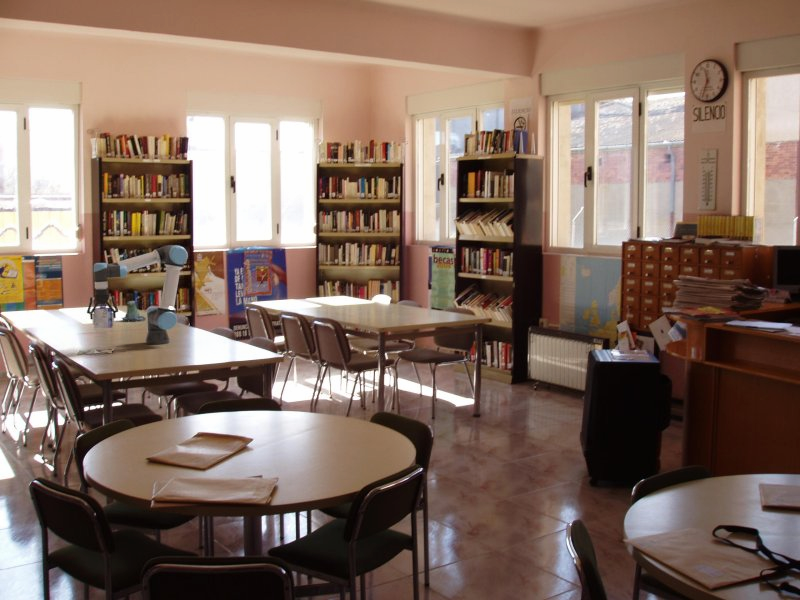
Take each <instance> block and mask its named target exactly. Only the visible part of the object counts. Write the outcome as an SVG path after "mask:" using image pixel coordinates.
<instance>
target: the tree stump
mask: <svg viewBox="0 0 800 600" xmlns="http://www.w3.org/2000/svg"><path fill="white" fill-rule="evenodd" d="M126 305H127V306H126V314H125V316H124V317H121V319H122V320H123V321H125V322H131V323H132V322H144V321H147V318H146V317H147V316H145V317H144V316H143V315H142V314H141V313H140V312H139V311H138V309H137V306H136V301H135V300H130V301H127V303H126Z"/></svg>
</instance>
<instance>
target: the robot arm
mask: <svg viewBox="0 0 800 600" xmlns="http://www.w3.org/2000/svg"><path fill="white" fill-rule="evenodd" d="M188 256H189V254H188V251H187V250H186V248H185V247H183V246H181V245H177V244H175V245H173V244H167V245H164V246H162V247H160V248H159V247H158V248H155V249H153V251H151V252H148V253H144V254H140V255H138V256H133V257H130V258H127V259H124V260H119V261H116V262H113V263H106V262H95V263H94V264H93V276H94V277H93V278H94V297H89V305H88V308H87V309H86V310H87V311H86V314H89V318H90V320H92V326H94V310H95V308H98V307H97V306H98V305H99V304H100V305H101V304H106V306H107V308H110V309H111V311H112V324H113V325H114V324H115V319H116V313H118V312H119V309H118V307H117V303H116V302H115V297H114V296H109V284H108V279H115V278H116V279H118V278H126V277H127V276H128V272H130V271H134V270H137V269H141V268H144V267H148V266H150V265H155V264H157V265H159V264H164V267H165V268H166V270H165V276H164V282H163V288H162V294H161V299H160V305H158V306H157V307H151V308H147V313H146V317H147V318H146V320H147V333H146V337H145V344H146V345H164V344H169V343H170V342H171V341H170V337H169V334H168V331H167V330H171V329H173V328H175V326H176V325H177V322H178V317H177V315H176V313H177V309H176V308H175V303H176V297H177V292H178V285H179V281H180V280H179V279H180V274H181V270H183V269H184V264H185V263H186V262H187V260H188V258H189V257H188ZM109 300H110V301H111V303H112V304H113V306H112V305H111V304H110V302H109ZM94 301H96V303H95V304H94V305H93V308H92V309H91V307H92V304H93V302H94Z"/></svg>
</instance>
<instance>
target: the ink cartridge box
mask: <svg viewBox="0 0 800 600" xmlns="http://www.w3.org/2000/svg"><path fill="white" fill-rule="evenodd" d="M112 313H113V312H112V311H111V309H110V308H109V307H107V304H106V303H105V304H103V303H102V304H100V306H99V307H96V308H95V310H94V312H93V314H94V325H93V327H94V329H111V328H113V327H114V326H113V325H114V324H112Z"/></svg>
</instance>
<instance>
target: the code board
mask: <svg viewBox="0 0 800 600" xmlns="http://www.w3.org/2000/svg"><path fill="white" fill-rule="evenodd" d="M107 349H108V348H107ZM107 349H90V350H89V349H85V350H79V351H78V352H77V354H86V355H95V354H94V352H95V350H96V351H98V352H100V353H108V352H102V351H105V350H107Z"/></svg>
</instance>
